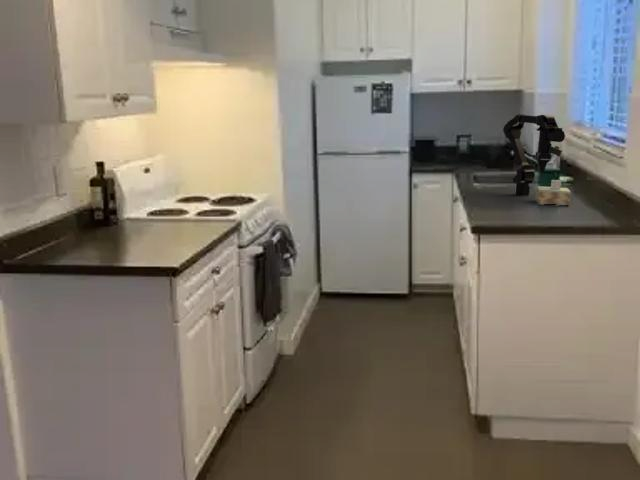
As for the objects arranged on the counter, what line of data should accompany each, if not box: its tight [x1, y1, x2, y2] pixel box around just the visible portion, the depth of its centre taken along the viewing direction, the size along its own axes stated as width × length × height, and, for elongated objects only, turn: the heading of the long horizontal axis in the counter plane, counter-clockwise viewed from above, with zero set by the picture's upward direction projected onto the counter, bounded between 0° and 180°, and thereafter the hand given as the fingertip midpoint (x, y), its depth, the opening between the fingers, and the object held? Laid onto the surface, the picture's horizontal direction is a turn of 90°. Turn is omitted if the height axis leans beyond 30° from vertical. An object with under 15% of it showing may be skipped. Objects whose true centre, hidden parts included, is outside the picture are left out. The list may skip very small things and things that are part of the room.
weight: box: [550, 179, 562, 190], centre depth 330 cm, size 4×4×4 cm
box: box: [535, 187, 571, 205], centre depth 331 cm, size 14×14×6 cm
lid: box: [536, 185, 571, 193], centre depth 330 cm, size 14×14×1 cm
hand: (541, 172), depth 343 cm, fingers open, 9 cm apart
